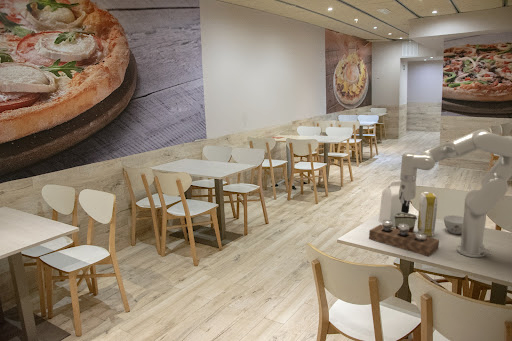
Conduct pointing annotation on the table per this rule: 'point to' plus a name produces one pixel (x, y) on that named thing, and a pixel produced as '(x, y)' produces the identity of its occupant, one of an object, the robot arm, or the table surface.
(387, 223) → the knob
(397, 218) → the food container
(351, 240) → the table surface
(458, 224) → the teacup
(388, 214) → the milk
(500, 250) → the table surface
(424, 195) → the juice carton
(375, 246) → the table surface
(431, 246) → the knob mount
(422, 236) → the knob
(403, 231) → the knob
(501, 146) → the robot arm
